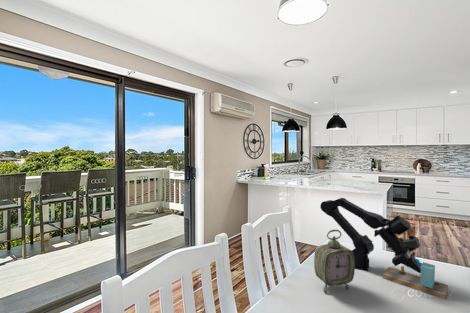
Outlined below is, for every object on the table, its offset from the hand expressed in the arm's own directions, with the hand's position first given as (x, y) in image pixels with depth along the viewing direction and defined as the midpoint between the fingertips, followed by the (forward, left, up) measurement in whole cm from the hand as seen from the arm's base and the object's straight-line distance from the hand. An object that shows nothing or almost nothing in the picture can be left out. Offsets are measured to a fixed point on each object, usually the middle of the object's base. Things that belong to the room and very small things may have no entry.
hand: (420, 272), depth 106 cm
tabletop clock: (-34, -17, -7) cm, 38 cm away
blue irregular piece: (+1, +24, -7) cm, 25 cm away
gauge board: (-2, +3, -7) cm, 8 cm away
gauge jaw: (+3, 0, -4) cm, 5 cm away
